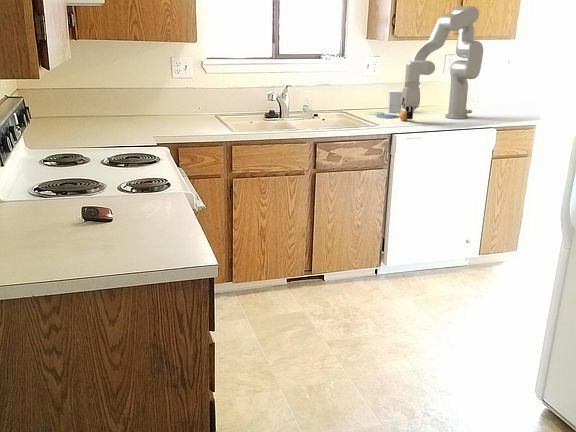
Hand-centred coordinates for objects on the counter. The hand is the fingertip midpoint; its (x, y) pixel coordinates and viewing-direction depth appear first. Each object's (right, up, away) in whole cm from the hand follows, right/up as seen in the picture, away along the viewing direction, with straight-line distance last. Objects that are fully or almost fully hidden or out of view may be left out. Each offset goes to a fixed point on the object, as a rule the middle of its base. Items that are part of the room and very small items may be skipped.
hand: (409, 118), depth 328 cm
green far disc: (-14, +8, +27) cm, 32 cm away
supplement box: (-2, +9, +33) cm, 34 cm away
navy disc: (-9, +4, +17) cm, 20 cm away
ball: (-2, +2, +3) cm, 5 cm away
